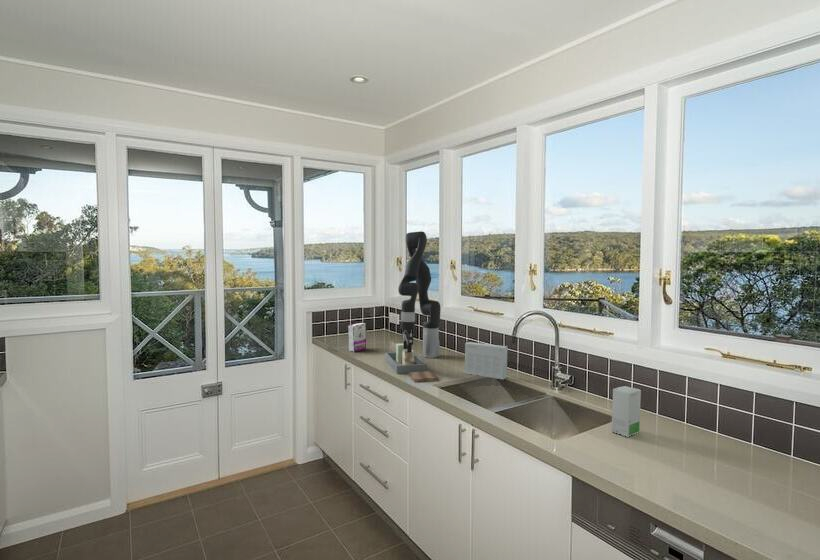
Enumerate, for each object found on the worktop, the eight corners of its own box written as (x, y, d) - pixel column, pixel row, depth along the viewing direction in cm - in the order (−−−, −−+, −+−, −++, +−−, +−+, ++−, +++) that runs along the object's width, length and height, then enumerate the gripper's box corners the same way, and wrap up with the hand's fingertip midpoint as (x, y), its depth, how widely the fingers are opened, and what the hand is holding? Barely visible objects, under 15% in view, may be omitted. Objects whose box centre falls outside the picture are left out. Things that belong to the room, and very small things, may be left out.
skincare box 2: (627, 438, 156) (629, 393, 155) (609, 431, 162) (611, 388, 161) (640, 432, 161) (642, 389, 160) (622, 426, 167) (624, 384, 166)
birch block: (411, 367, 246) (411, 348, 245) (414, 369, 241) (414, 351, 240) (402, 367, 245) (402, 349, 244) (404, 370, 240) (404, 351, 239)
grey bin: (411, 358, 266) (411, 351, 266) (426, 371, 237) (426, 364, 237) (384, 359, 262) (384, 352, 262) (396, 373, 233) (396, 366, 233)
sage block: (404, 360, 260) (404, 343, 260) (406, 362, 255) (406, 345, 255) (396, 361, 259) (396, 343, 258) (398, 363, 254) (398, 345, 253)
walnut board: (430, 373, 233) (431, 370, 233) (438, 380, 222) (438, 377, 222) (408, 375, 230) (408, 372, 230) (414, 382, 219) (414, 379, 219)
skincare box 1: (507, 377, 228) (508, 346, 227) (503, 380, 224) (504, 348, 223) (468, 371, 239) (468, 341, 238) (463, 373, 234) (464, 343, 233)
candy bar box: (360, 348, 291) (360, 322, 290) (366, 349, 288) (366, 323, 287) (348, 351, 282) (347, 324, 281) (353, 352, 279) (353, 325, 278)
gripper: (418, 322, 235) (417, 353, 236) (411, 318, 249) (410, 347, 250) (404, 322, 233) (403, 353, 234) (398, 318, 247) (397, 348, 248)
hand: (407, 350), depth 242 cm, fingers open, 8 cm apart
